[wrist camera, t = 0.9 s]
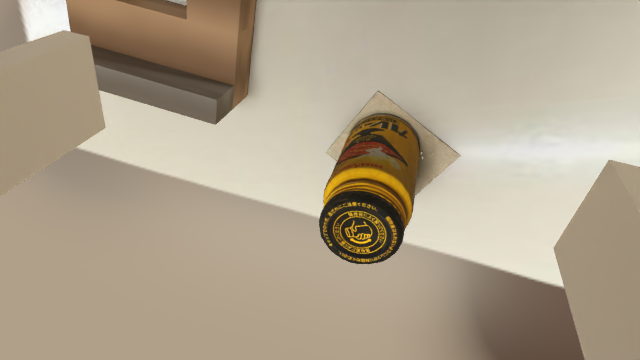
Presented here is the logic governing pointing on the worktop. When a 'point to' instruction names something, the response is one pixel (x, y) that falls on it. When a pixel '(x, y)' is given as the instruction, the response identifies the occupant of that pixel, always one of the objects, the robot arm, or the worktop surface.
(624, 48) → the worktop surface
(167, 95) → the jig
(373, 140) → the condiment
